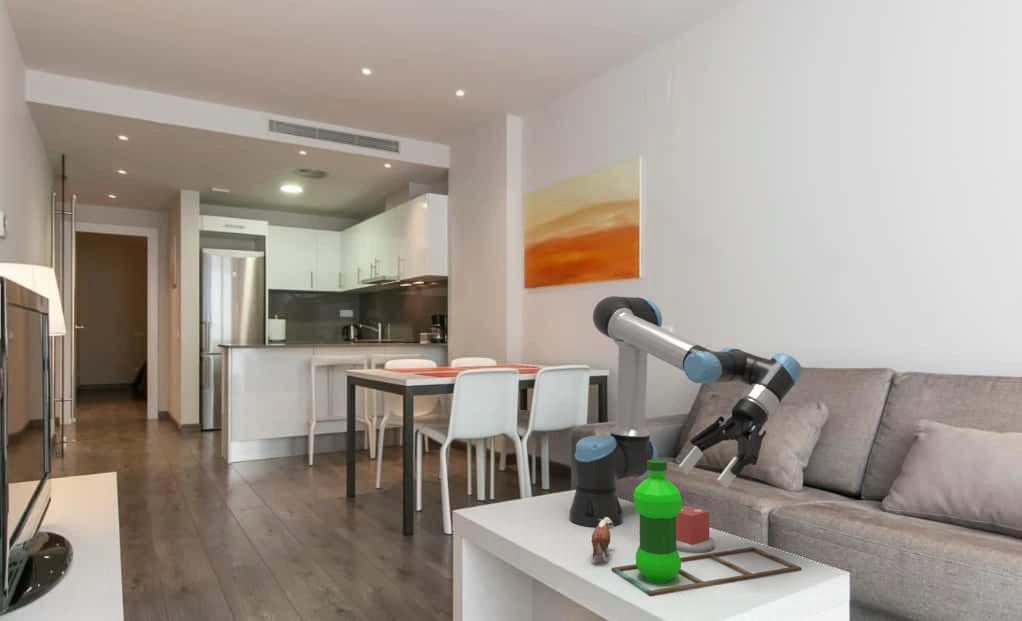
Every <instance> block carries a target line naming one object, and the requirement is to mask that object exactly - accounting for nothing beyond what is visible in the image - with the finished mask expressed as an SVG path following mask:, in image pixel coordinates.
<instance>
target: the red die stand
mask: <svg viewBox="0 0 1022 621" xmlns="http://www.w3.org/2000/svg"><path fill="white" fill-rule="evenodd" d="M676 549H677V551H678V552H682V553H689V554H692V553H693V554H694V553H695V554H700V553H701V554H702V553H703V554H704V553H709V552H711V551H713V550H714V549H715V540H714V539H713V538H712V537H711V536H710V511H709V510H704V509H701V508H698V507H692V506H689V505H682V508H681V512H680V513H679V514H678V515H677V516H676Z"/></svg>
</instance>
